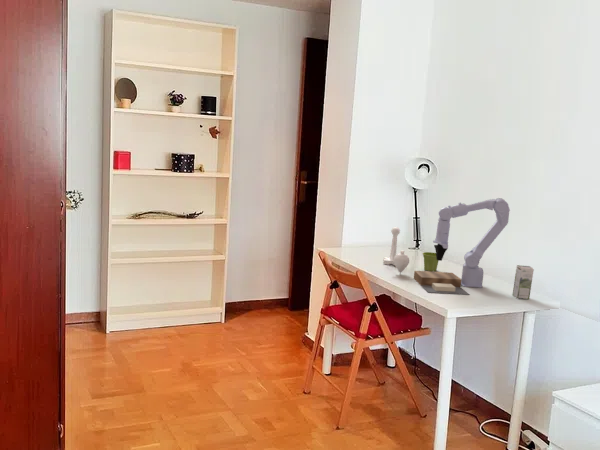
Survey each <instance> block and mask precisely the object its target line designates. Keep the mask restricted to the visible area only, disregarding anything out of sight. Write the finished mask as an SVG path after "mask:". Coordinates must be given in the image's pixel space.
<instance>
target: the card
mask: <svg viewBox="0 0 600 450" xmlns="http://www.w3.org/2000/svg"><path fill="white" fill-rule="evenodd" d="M432 288H433V289H434V290H435V291H451V292H455V288H456V287H454V286H453V285H452V284H443V283H432Z"/></svg>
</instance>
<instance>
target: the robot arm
mask: <svg viewBox="0 0 600 450" xmlns="http://www.w3.org/2000/svg"><path fill="white" fill-rule="evenodd" d="M485 209H486V210H490V211H494V212H495V218H496V220H495V222H494V223H493V225H491V227H490V228H489V229H488V231H487V232H486V233H485V234H484V236H482V238H481V239H480V240H479V241H478V242H477V244H476V245H475V246H474V247H473V248H472V249H471V250H470V251H467V252H466V253H465V254H464V257H463V258H464V262H465V263H463V265H462V271H461V278H460V279H462V280H461V286H462V287H466V288H483V280H484V269H483V267H479V264H480V261H481V260H482V258H483V255H484V253H485V252H486V251H487V250H488V248H489V247H490V246H491V245H492V243H493V242H494V241H495V240H496V239H497V238H498V236H499V235H500V234H501V233H502V231H503V230H504V229H505V228H506V226H508V224H509V220H510V219H509V218H510V211H511V210H510V207H509V203H508V202H507V201H506V200H505V199H503V198H499V197H498V198H492V199H491V198H490V199H485V200H482V201H478V202H474V203H471V204H466V203H462V202H458V204H455V205H448V206H447V207H446V206H444V207H443V206H442V207H441V208H440V209H439V211H438V216H439V217H438V219H437V220H438V222H437V226H436V227H437V229H436V235H435V238H434V240H432V242H433V243H435V244H433V245H434V250H435V253H436V258H437V260H439V261H438V262H440V261H441V262H442V261H443V258H444V256H445V253H446V252H447V251H448V249H449V235H450V227H451V223H450V221H451V219H456V218H459V217H463V216H467V215H468V214H469V213H471V212H474V211H475V212H476V211H480V210H485Z"/></svg>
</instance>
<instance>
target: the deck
mask: <svg viewBox="0 0 600 450" xmlns="http://www.w3.org/2000/svg"><path fill="white" fill-rule="evenodd" d="M413 279H414V281H416V282H417V283H418V285H420V286H421V285H429V286H432V283H443V284H452V285H453V286H454V287H461V286H462V285H461V280H462V279H461V278H460V277H459V276H457V274H455V273H454V272H445V271H444V272H443V271H435V272H431V271H426V270H414V272H413ZM461 288H462V287H461Z"/></svg>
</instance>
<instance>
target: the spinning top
mask: <svg viewBox="0 0 600 450" xmlns="http://www.w3.org/2000/svg"><path fill="white" fill-rule="evenodd" d="M394 263H395V265H394V266H395V267H396V269H397V271H398V273H399V275H401V273H403V271H404V270H406V268H407V267H408V265H409V264H410V257H409V256H408V254H406V253H405V250H400V252H399V253H396V256H395V257H394Z"/></svg>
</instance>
